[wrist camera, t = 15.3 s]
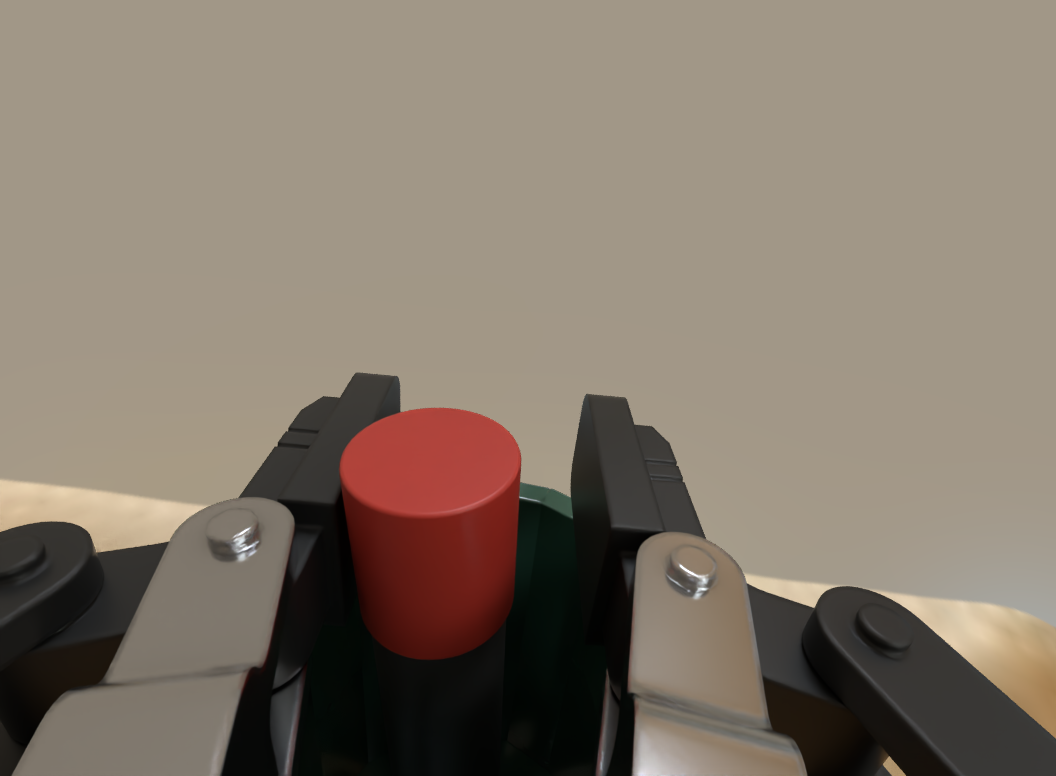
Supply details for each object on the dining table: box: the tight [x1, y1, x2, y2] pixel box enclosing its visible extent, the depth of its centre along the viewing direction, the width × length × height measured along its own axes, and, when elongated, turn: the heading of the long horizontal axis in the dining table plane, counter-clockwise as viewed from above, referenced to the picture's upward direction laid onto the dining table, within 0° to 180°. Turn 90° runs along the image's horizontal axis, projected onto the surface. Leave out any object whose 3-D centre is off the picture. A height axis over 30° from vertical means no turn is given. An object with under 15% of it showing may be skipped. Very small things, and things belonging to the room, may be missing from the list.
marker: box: [339, 408, 521, 776], centre depth 10 cm, size 2×2×12 cm
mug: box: [298, 482, 607, 776], centre depth 12 cm, size 11×8×10 cm
